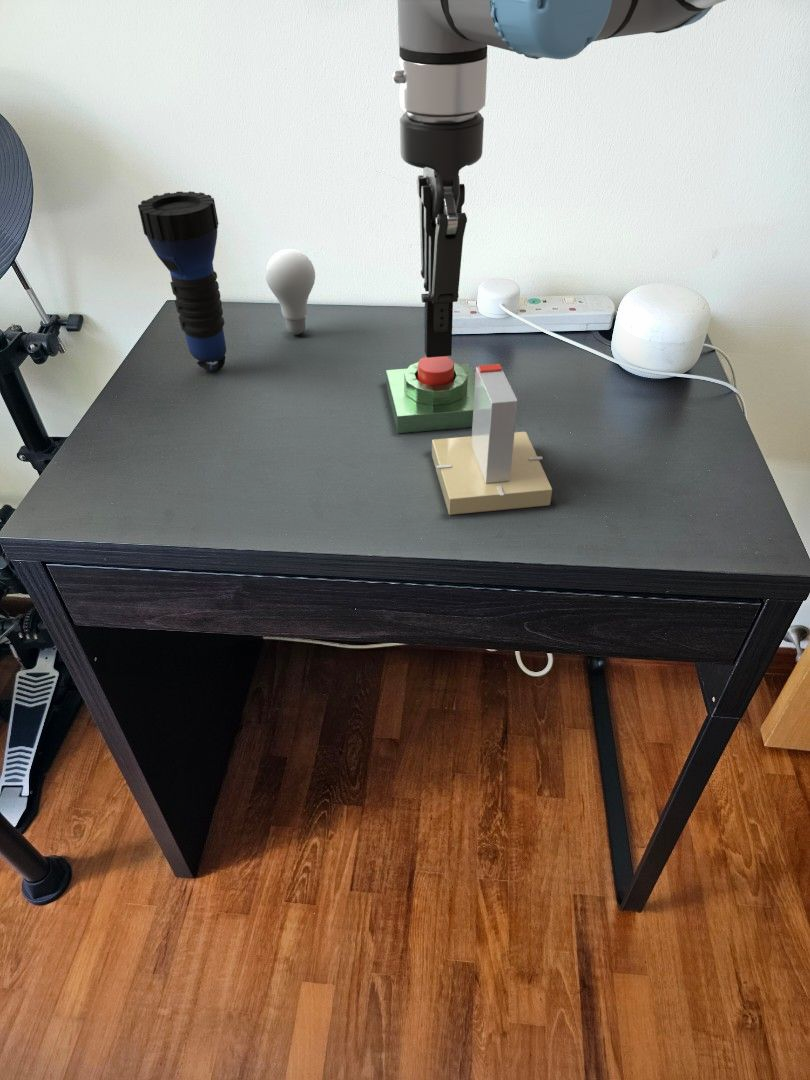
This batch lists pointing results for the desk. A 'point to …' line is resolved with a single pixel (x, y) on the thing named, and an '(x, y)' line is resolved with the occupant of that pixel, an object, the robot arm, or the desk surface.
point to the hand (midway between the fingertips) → (437, 353)
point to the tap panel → (468, 484)
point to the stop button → (435, 370)
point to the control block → (431, 400)
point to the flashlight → (190, 267)
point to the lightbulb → (291, 285)
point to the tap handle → (493, 423)
